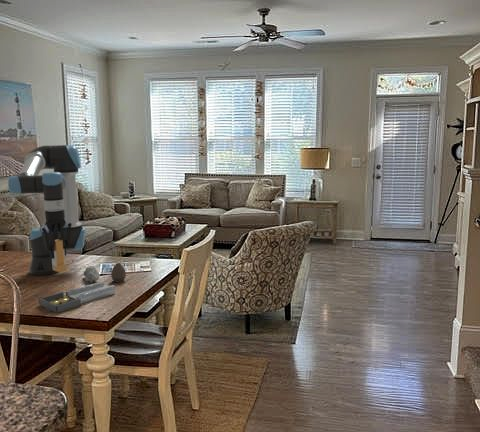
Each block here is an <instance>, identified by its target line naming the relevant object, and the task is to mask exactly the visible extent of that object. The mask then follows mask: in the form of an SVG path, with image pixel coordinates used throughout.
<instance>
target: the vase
mask: <svg viewBox="0 0 480 432" xmlns="http://www.w3.org/2000/svg"><path fill="white" fill-rule="evenodd" d="M114 264H115V265H114V266H113V267H112V269H111V271H110V277H111V279H112V281H113V282H115V283H122V282H123V281H124V280H125V279H126V277H127V271H126V268H125V267H124V266H123V264H122V263H121V262H116V263H114Z"/></svg>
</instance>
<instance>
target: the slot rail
mask: <svg viewBox="0 0 480 432" xmlns="http://www.w3.org/2000/svg"><path fill="white" fill-rule="evenodd" d="M114 294H116V286H115V285H113V284H112V285H105V282H104V281H99V282H95V283H91V284H88V285H84V286H81V287H77V288H74V289H70V290H66V291H65V297H67V298H70V299H72V300H76V299H81V305H82V304H85V303H88V302H91V301H95V300H99V299H102V298H104V297H108V296H111V295H114Z"/></svg>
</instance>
